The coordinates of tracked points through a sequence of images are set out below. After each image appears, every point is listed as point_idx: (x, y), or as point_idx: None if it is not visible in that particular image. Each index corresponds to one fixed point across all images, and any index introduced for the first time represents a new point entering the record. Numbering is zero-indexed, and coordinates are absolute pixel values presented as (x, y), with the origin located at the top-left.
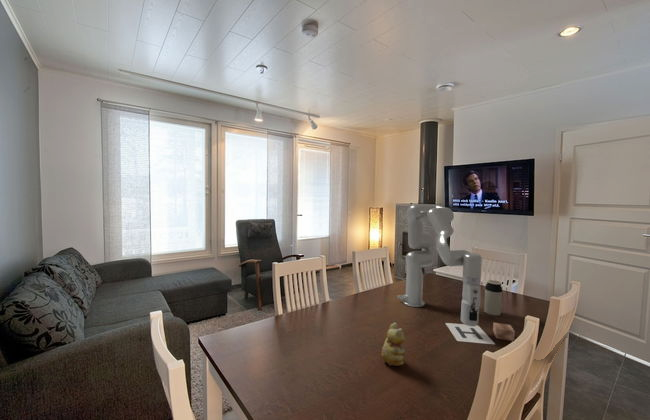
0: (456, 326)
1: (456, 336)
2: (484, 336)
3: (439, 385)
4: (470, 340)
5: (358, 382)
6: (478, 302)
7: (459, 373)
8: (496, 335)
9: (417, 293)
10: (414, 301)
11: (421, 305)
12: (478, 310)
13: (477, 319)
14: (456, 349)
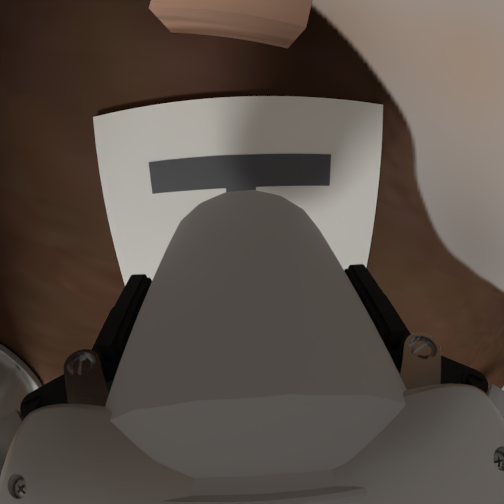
0: None
1: None
2: (280, 125)
3: (497, 358)
4: (350, 246)
5: None
6: (498, 461)
7: (494, 325)
8: (287, 41)
9: (5, 413)
10: (24, 392)
11: (17, 363)
12: (359, 308)
13: (326, 243)
14: (410, 321)
